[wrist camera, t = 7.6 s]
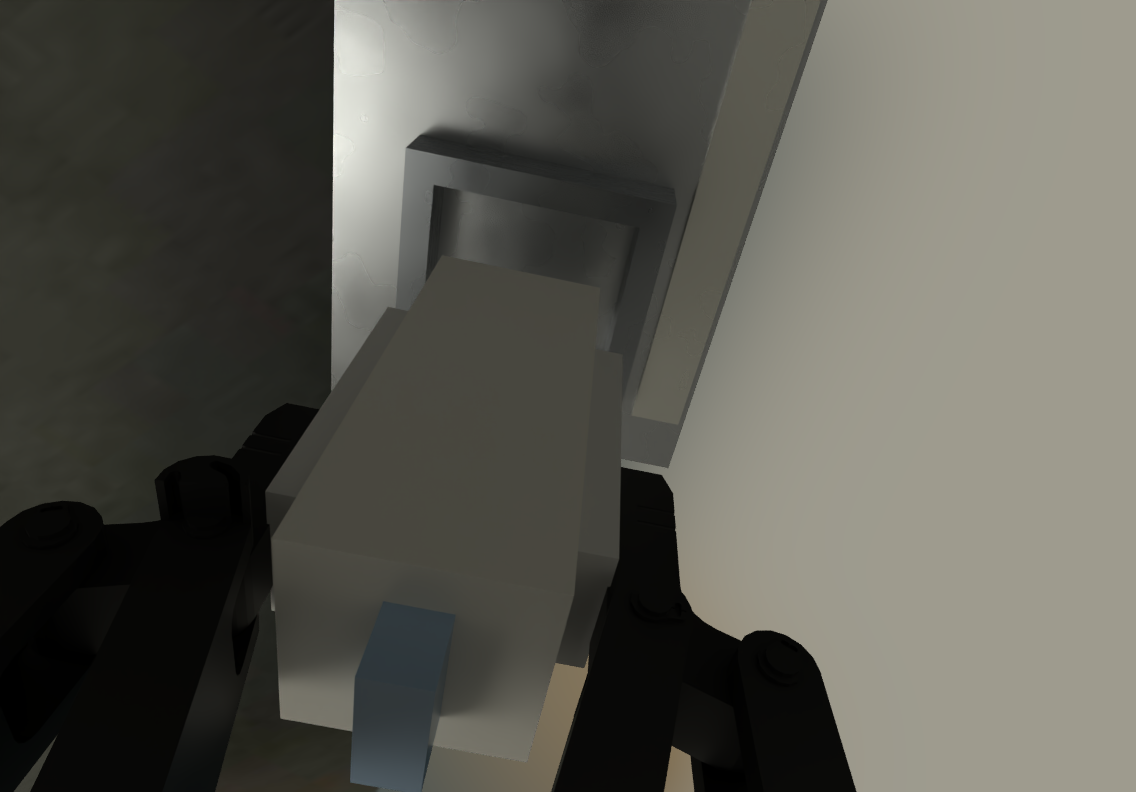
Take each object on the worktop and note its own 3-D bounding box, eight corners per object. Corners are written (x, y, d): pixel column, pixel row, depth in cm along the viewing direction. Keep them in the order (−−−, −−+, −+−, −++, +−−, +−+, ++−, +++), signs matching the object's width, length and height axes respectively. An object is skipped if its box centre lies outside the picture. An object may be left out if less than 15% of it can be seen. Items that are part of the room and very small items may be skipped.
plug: (442, 255, 18) (227, 611, 8) (600, 287, 18) (567, 673, 8) (429, 389, 20) (246, 793, 10) (570, 417, 20) (517, 841, 11)
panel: (363, -938, 12) (304, -1129, 10) (1067, -747, 12) (1157, -890, 10) (341, 386, 26) (315, 426, 24) (667, 451, 26) (670, 495, 24)
